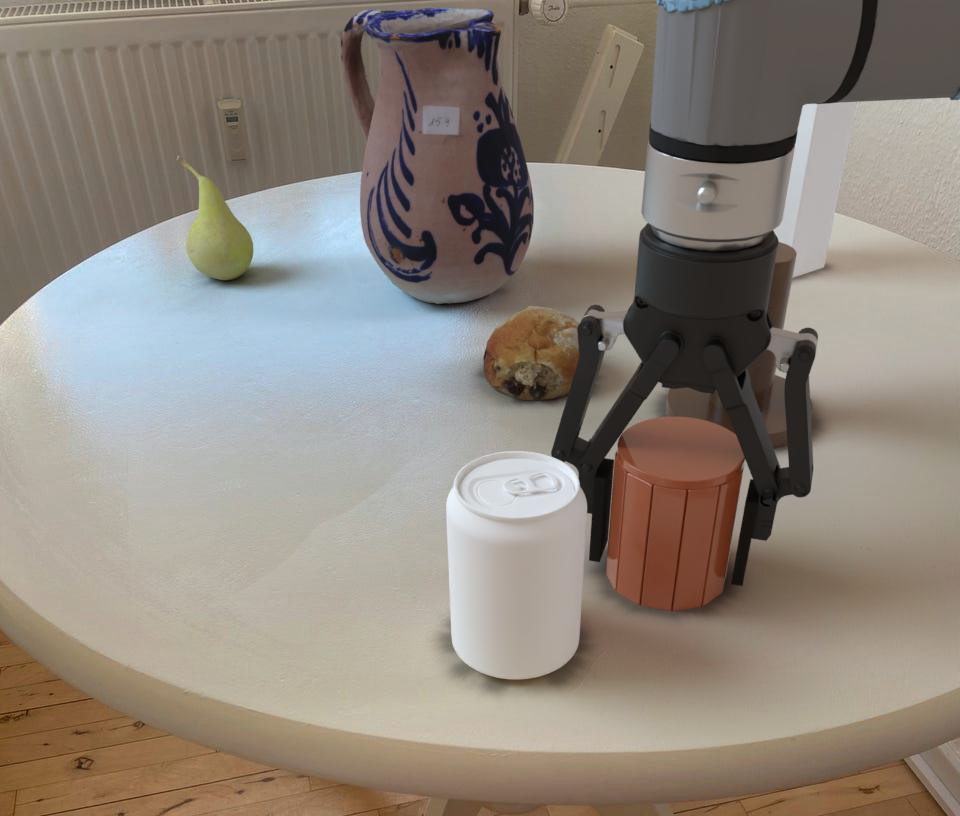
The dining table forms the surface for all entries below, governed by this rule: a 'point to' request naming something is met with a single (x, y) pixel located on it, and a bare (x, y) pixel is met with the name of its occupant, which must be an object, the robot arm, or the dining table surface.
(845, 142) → the milk
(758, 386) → the towel holder
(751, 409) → the robot arm
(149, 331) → the dining table surface
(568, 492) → the beverage can
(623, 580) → the ribbed orange cylinder
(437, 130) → the ceramic pitcher
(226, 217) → the fruit
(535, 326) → the bread roll
